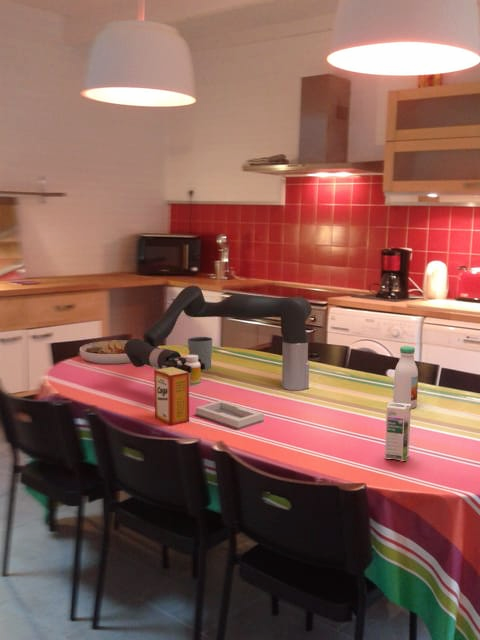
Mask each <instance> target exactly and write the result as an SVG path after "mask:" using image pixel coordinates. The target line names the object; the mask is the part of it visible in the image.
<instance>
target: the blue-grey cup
mask: <svg viewBox="0 0 480 640" xmlns="http://www.w3.org/2000/svg"><path fill="white" fill-rule="evenodd" d="M187 347H188V351H189V353H188V355H198V358H199V359H201V362H203V363H205V369H204V370H202V369H201V371H205V370H208V369H211V367H212V357H213V356H212V355H213V354H212V353H213V352H212V349H213V338H212V337H210V336H193V337H189V338H187Z"/></svg>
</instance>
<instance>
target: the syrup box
mask: <svg viewBox="0 0 480 640" xmlns="http://www.w3.org/2000/svg"><path fill="white" fill-rule="evenodd" d="M411 409H412V408H411V404H403V403H393V401H391V402H389V403H388V404H387V407H386V415H385V416H386V418H385V445H384V448H385V449H384V458H385V457H386V458H391V459H397V460H404V461H406V460H407V461H408V458H407V457H409V455H408V454H410V453H409V452H410V437H411V435H410V434H411V433H410V432H411V412H412V410H411ZM407 461H406V462H407Z"/></svg>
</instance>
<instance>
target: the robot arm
mask: <svg viewBox="0 0 480 640" xmlns="http://www.w3.org/2000/svg"><path fill="white" fill-rule="evenodd" d="M312 311H313V308H312V304H311V303H310V302H309V300H308V299H307V298H304V297H302V296H293V297H292V296H291V297H273V296H265V295H257V294H247V293H235V294H231V295H229V296H227V297H226V298H224V299H222V300H220V301H217V302H210V301H206V299H205V297H204V294H203V291H202V289H201V287H199V286H197V285H189V286H186V287H184V288H183V289H182V290H181V291H180V292H179V293H178V294H177V296H175V298H174V300H172V302H171V303H170V305H169V306H168V307H167V308H166V310H165V311H164V312H163V314H162V315H161V316H160V317H159V318H158V319H157V321H155V323H153V324H151V326H150V327H149V328H148V329H147V330H146V331H144V333H143V334H142V339H141V338H131V339H129V340H126V341H127V342H126V344H125V346H124V350H125V353H126V354H127V356H128V358H129V359H130V361H131V364H132V365H133V366H134V367H135V368H141V367H144V366H148V367H151V368H154V369H155V370H156V369H162V368H168V367H174V368H177V369H180V370H183V371H186V372H188V373H191V366H188V365H184V364H185V362H187V361H186V357H185V356H182V355H181V354H180V352H178V351H176V350H173V349H168V348H164V347H159V346H160V345H161V344H162V343H163V342H164V341H165V340H166V339H167V338H168V337H169V336H170V335H171V333H172V332H173V330H174V328H175V326H176V324H177V321H178V319H179V317H180V315H181V313H182V312H184V315H186V316H187V317H189V318H217V317H218V318H232V319H240V320H241V319H243V320H256V319H257V320H258V319H266V318H268V319H269V318H280V334H281V337H282V354H281V355H282V357H281V358H282V360H281V362H282V363H281V365H282V366H281V367H282V368H281V369H282V370H281V387H282V389H285V390H288V391H304V390H306V389H307V390H308V389H309V387H310V385H309V384H310V363H309V362H308V360H309V356H308V355H309V335H308V333H307V330H306V320H307V319H308V318H309V317H310V315H311V314H312ZM198 362H199V363H200V365H201V369H202V370H201V371H205V370H206V369H205V363H203V362H201V359H199V358H198ZM204 369H205V370H204Z"/></svg>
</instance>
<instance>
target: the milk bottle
mask: <svg viewBox="0 0 480 640" xmlns="http://www.w3.org/2000/svg"><path fill="white" fill-rule="evenodd" d="M415 349H416V348H415V347H414V346H409V345H408V346H406V345H404V346H401V347H400V349H399V351H400V352H399V353H400V357H399V360H398V362H397V364H396V366H395V370H394V376H393V397H392V398H393V400H392V402H393V403H403V404H411V409H414V408H417V406H418V404H417V403H418V386H419V372H418V366H417V363H416V362H415V358H414V356H415V351H416V350H415Z"/></svg>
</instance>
